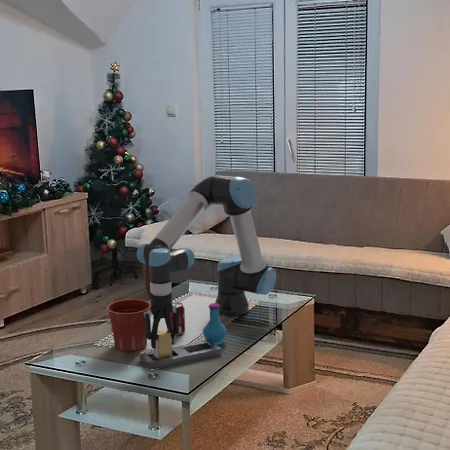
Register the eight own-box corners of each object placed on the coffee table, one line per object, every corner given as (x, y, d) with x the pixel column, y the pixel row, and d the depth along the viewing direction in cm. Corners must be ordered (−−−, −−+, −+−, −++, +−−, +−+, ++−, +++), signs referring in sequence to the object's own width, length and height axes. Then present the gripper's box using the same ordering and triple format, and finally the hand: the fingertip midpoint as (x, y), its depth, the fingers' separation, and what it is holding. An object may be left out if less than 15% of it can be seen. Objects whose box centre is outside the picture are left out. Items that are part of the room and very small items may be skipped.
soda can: (182, 336, 278) (181, 307, 275) (166, 335, 279) (165, 306, 277) (186, 330, 284) (186, 302, 282) (170, 329, 286) (169, 301, 283)
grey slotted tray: (209, 346, 268) (209, 339, 267) (221, 355, 259) (221, 348, 258) (140, 360, 255) (139, 354, 254) (150, 370, 246) (150, 363, 246)
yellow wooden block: (166, 352, 256) (165, 328, 254) (171, 356, 252) (170, 332, 250) (154, 354, 254) (153, 331, 252) (159, 359, 250) (158, 335, 248)
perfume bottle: (230, 338, 275) (229, 302, 272) (222, 347, 266) (221, 309, 263) (207, 336, 278) (207, 299, 275) (199, 344, 269) (198, 307, 266)
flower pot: (119, 357, 258) (117, 316, 254) (102, 343, 271) (99, 304, 268) (159, 348, 266) (158, 307, 263) (140, 335, 280) (139, 296, 277)
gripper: (179, 286, 256) (180, 347, 260) (133, 293, 248) (136, 356, 252) (188, 291, 249) (189, 353, 254) (141, 299, 241) (143, 363, 246)
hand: (162, 354), depth 253 cm, fingers closed on yellow wooden block, 4 cm apart
